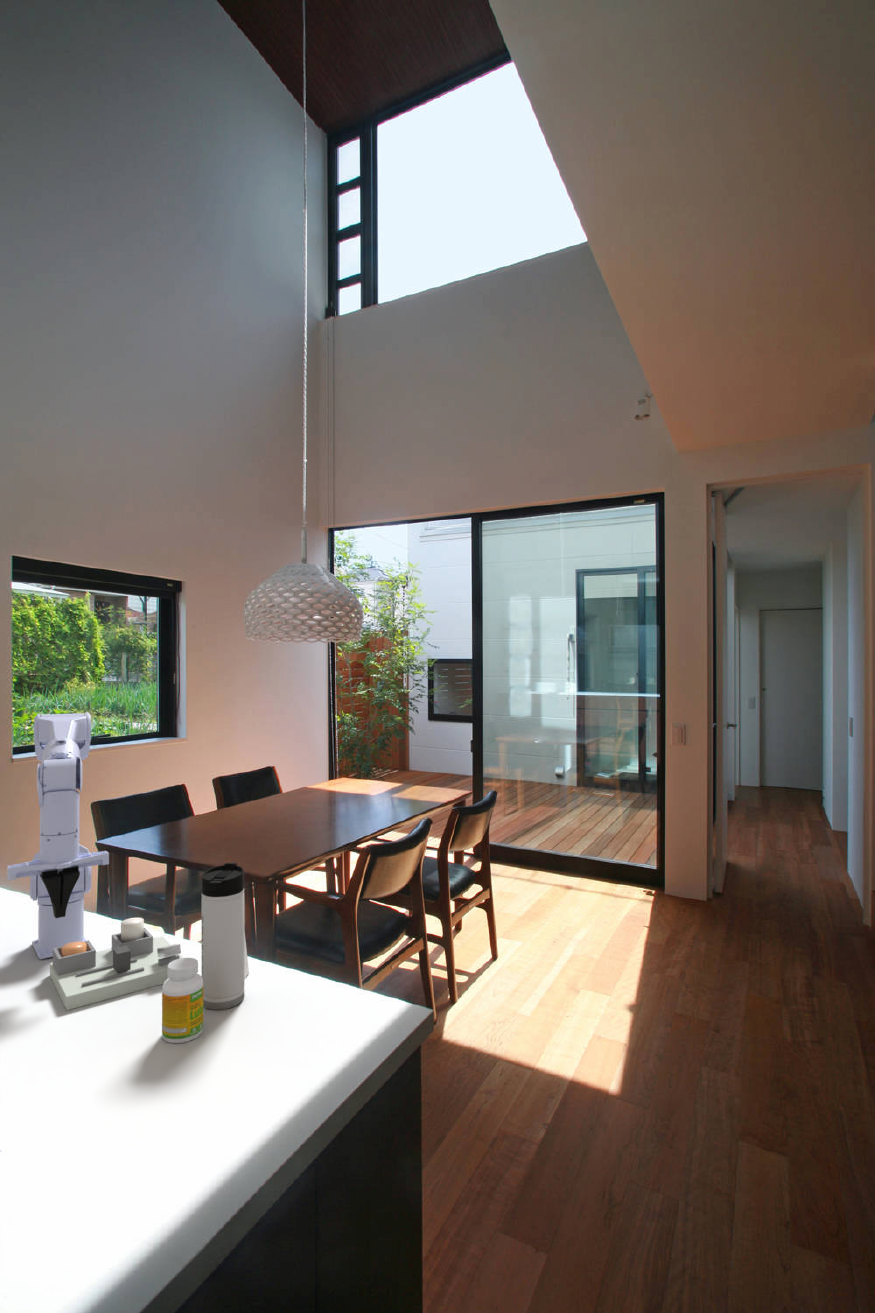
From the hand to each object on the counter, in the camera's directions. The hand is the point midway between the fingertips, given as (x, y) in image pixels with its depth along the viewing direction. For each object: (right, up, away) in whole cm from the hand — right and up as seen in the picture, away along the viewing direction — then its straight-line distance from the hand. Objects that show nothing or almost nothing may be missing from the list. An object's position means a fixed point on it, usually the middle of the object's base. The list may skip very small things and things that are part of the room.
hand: (59, 916), depth 111 cm
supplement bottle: (+27, -10, -17) cm, 33 cm away
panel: (+9, -10, +1) cm, 14 cm away
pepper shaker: (+28, -10, +1) cm, 30 cm away
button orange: (+2, -8, +1) cm, 8 cm away
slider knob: (+11, -8, -1) cm, 13 cm away
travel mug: (+29, -10, -7) cm, 32 cm away
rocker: (+17, -6, +1) cm, 19 cm away
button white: (+9, -6, +6) cm, 13 cm away
